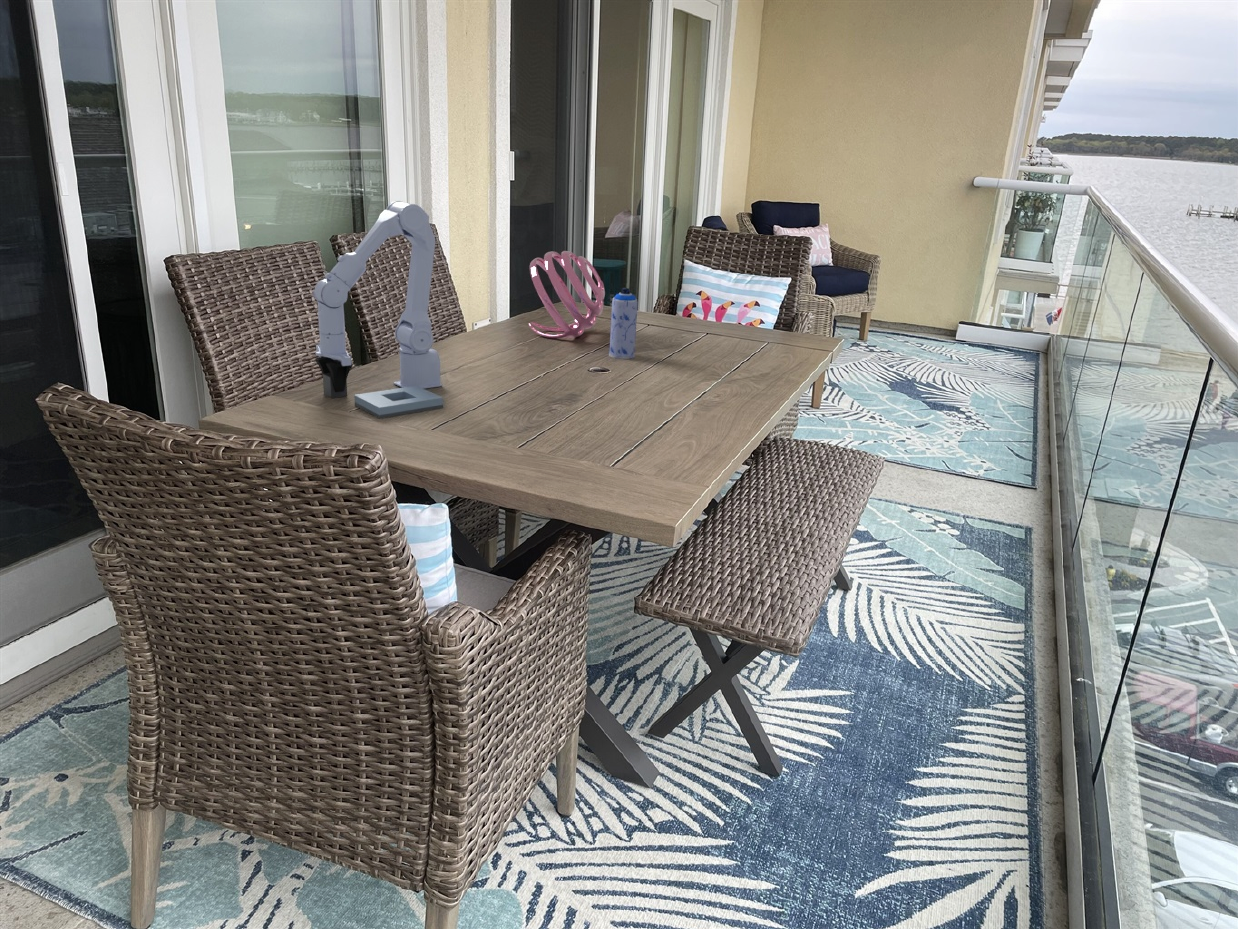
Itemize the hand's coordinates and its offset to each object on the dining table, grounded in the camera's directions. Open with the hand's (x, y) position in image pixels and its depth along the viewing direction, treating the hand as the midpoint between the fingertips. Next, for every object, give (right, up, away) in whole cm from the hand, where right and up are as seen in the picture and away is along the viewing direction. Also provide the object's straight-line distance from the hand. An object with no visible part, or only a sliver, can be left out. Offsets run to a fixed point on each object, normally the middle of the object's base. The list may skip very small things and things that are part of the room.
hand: (335, 389), depth 212 cm
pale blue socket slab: (+16, -4, -6) cm, 18 cm away
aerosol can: (+68, +15, +56) cm, 89 cm away
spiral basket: (+50, +24, +78) cm, 95 cm away
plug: (0, -1, 0) cm, 1 cm away
